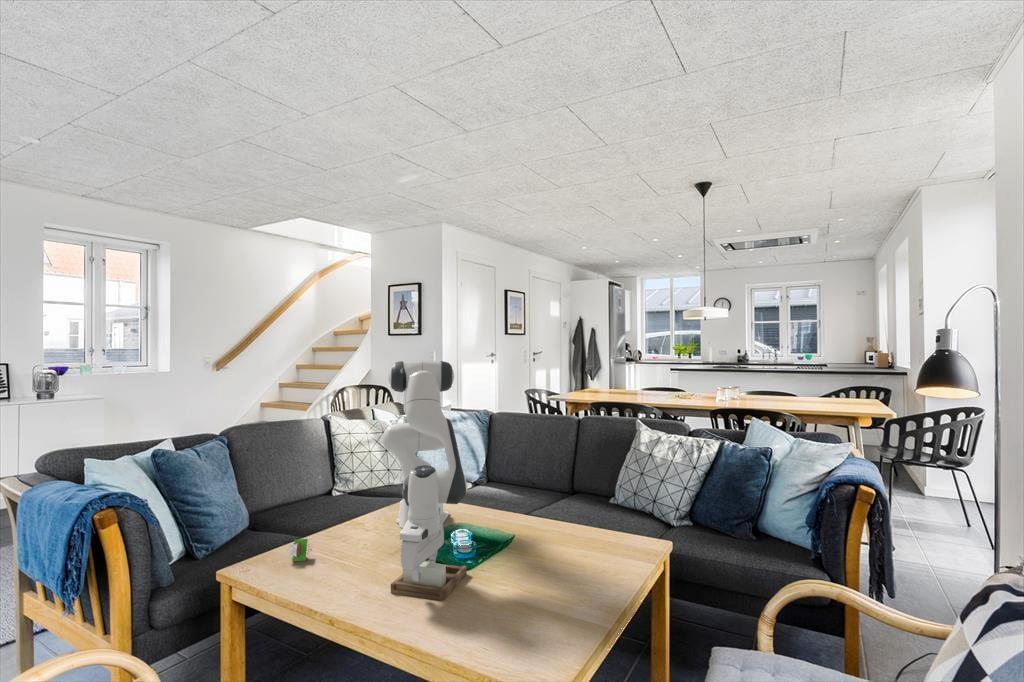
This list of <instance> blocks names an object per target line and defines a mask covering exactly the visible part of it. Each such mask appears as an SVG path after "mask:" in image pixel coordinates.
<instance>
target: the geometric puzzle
mask: <svg viewBox="0 0 1024 682" xmlns="http://www.w3.org/2000/svg"><path fill="white" fill-rule="evenodd" d="M292 543H293V544H292V545H290V546H289V548H288V549H287V553H288V554H289V556H292V558H291V560H292V562H303V561H305V562H306V561H307V558H308V557H309V552H310V553H311V552H312V550H313V548H311V547H310V546H309V545H311V543H310V542H309V540H308V538H301V539H300V538H299V539H293V542H292ZM307 547H308V548H307Z"/></svg>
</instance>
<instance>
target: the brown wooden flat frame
mask: <svg viewBox="0 0 1024 682" xmlns="http://www.w3.org/2000/svg"><path fill="white" fill-rule="evenodd" d="M436 563H437V562H436ZM437 564H439V563H437ZM444 565H446V585H445V586H444V587H443V588H442V587H435V586H428V585H421V584H414V583H407V582H403V573H402V574H401V575H399V576H398V577H397V578H396V579H395V580H394V581H393V582H391V583H390V594H396V595H402V596H407V597H414V598H415V597H416V598H420V599H421V598H422V599H429V600H434V601H440V602H441V601H442V602H444V600H446V598H447V597H448V596H449V595H450V594H451V593H452V591H453V590H454V589H456V587H457V586H458V584H459V583H460V582H461V581H462V580H463V579H464V578H465V577H466V575H467V569H468V568H467V565H461V566H459V565H452V564H444Z"/></svg>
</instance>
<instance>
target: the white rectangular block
mask: <svg viewBox="0 0 1024 682" xmlns="http://www.w3.org/2000/svg"><path fill="white" fill-rule="evenodd" d="M446 565H447V564H446ZM446 565H444V564H442V563H438V564H437V562H435V563H429V562H428V561H424V562H423V563H422V564H421V565H420V566H419V569H418V571H419V573H421V578H420V579H419V580H418V581H413V574H412V573H411V571H410V570H404V569H403V568H402V574H403V582H407V583H414V584H421V585H428V586H435V587H442V588H443V587H444V586H445V585H446Z"/></svg>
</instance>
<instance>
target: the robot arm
mask: <svg viewBox="0 0 1024 682" xmlns="http://www.w3.org/2000/svg"><path fill="white" fill-rule="evenodd" d="M387 379H388V383H389V385H390V388H391V389H392V390H393V391H394V392H398V393H403V412H404V414H405V416H406V421H407V422H400V423H394V424H392V425H388V426H387V427H386V428H385V430H384V431H383V434H382V443H383V446H384V447H385V449H386V451H388V452H390V453H391V454H392V455H394V456H395V458H397V460H398V462H399V464H400V465H401V471H402V479H403V481H402V482H403V487H402V490H401V494H402V495H401V497H402V499H401V500H400V502H399V510H398V511H399V512H398V518H396V519H395V523H397V524H398V525H399V527H400V528H401V531H400V532H399V540H401V544H400V564H401V567H402V570H403V569H404V570H410V571H411V573H412V574H413V581H418V580H419V579H420V578H421V573H419V571H418V569H419V566H420V565H421V564H422V563H423V562H426V560H427V562H429V563H436V559H437V557H438V550H439V549H440V548H441V547H442V546H443V545H444V542H445V532H444V523H445V521H446V520H447V518H448V517H449V515H450V512H449V511H447V510H445V509H444V504H446V505H447V504H448V505H458V504H459V503H460V502H462V501H463V500H464V499H465V498H466V497H467V492H468V483H467V482H468V481H467V479H466V476H465V474H464V471H463V466H462V462H461V457H460V452H459V448H458V447H459V446H458V442H457V438H456V433H455V430H454V426H453V423H452V421H451V419H449V418H447V417H446V416H445V414H444V413H443V411H442V407H441V405H442V403H441V393H442V392H446V391H449V390H450V389H451V388H452V385H453V384H454V380H455V372H454V369H453V366H452V364H450V363H449V362H447V361H443V360H440V361H437V360H427V359H423V360H409V361H396V362H393V363H392V364H391V366H390V369H389V371H388V377H387ZM440 392H441V393H440ZM441 449H444V451H445V455H446V456H445V457H446V461H447V467H448V468H447V469H445V470H437V469H436V468H435V467H433V466H432V465H431V463H429V461H427V460H425V459H422V458H419V457H418V456H417V454H416V453H417V452H425V451H426V452H428V451H437V450H441Z"/></svg>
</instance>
